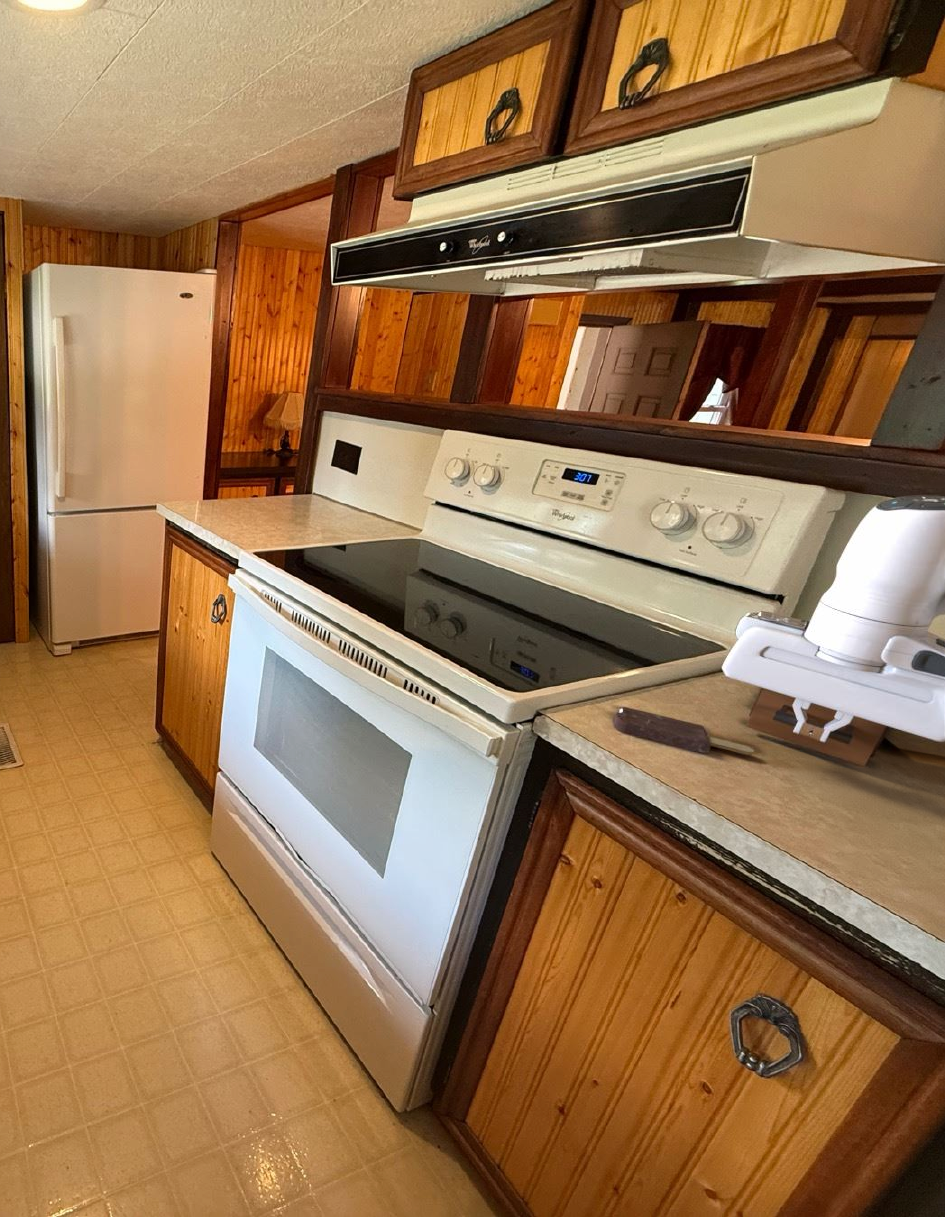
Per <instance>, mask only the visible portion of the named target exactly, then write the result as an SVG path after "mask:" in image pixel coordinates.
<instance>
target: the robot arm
mask: <svg viewBox="0 0 945 1217" xmlns="http://www.w3.org/2000/svg"><path fill="white" fill-rule="evenodd" d="M943 615H945V496H944V495H936V494H934V495H932V494H919V495H915V494H914V495H903V496H895V497H893V498H890V499H887V500H883V501H881V502H879V503H877V504H876V505H875V506H874V507H872V508H871V509H870V510H869V511H868V512H867V514H865V516H864V517H863V518H862V520H861V521H860V522H859V524H858V525H857V527H856V529H855V530H854V531H853V533H852V535H851V537H850V539H849V540H848V542H847V543H846V546H845V548H844V549H843V551H842V553H841V556H840V558H839V559H838V561H837V564H836V571H835V578H834V581H833V583H832V585H831V586H830V587H829V588H828V589H827V591H825V592H824V593H823V594H822V596H821V598H820V599H819V601H818V603H817V606H816V607H815V610H814V612H813V614H812V616H811V618H810V620H804V619H799V618H795V617H791V616H785V615H779V614H776V613H774V612H770V611H766V610H760V611H759V612H750V613H747V614H745V615H743V616H741V617H740V619H739V620H738V622H737V624H736V627H735V629H734V636H735V638H736V639H737V641H736V642H735V644H734V645H733V646H732V648H731V649H730V651H729V653H728V654H727V657H726V658H725V660H724V662H723V664H722V666H721V670H722V671H723V672H722V673H723V674H724V675H725V677H727V678H729V679H733V680H736V681H738V682H739V681H740V682H742V683H744V684H745V683H746V684H749V685H752V686H755V687H758V688H761V687H762V688H765V689H768V690H771V691H775V692H778V693H781V694H784V695H788V696H791V697H794V698H796V699H795V701H794V703H793V705H792V706H793V709H794V712H795V715H796V718H797V720H798V723H797V725H796V727H795V729H794V731H793V732H795V733H797V734H801V735H804V736H807V737H810V738H813V739H815V740H818V741H821V742H824V743H825V741H826V739H827V737H828V736H829V734H830V732H831V731H834V730H837V729H839V728H841V727H843V726H845V725H848V724H850V722H851V720H852V719H853V717H854V716H856V717H860V718H863V719H866V720H869V721H873V722H876V723H879V724H882V725H886V726H889V727H890V728H893V729H896V730H898V731H902V732H905V733H909V734H911V735H916V736H918V737H919V736H920V737H922V738H925V739H928V740H931V741H934V742H939V743H945V638H943V637H941V636H940V635H937V634H935V633H933V632H931V631H929V628H930V627H931V625H932V623H933V622H934V620H935V619H936V618H938V617H939V616H943ZM804 629H805V630H806V631H805V633H804ZM811 703H814V704H817V705H820V706H824V707H827V708H830V709H833V710H837V712H836V714H835V717H834V718H835V719H834V720H832V721H830V722H828V723H826V724H823V723H820V722H817V721H814V720H811V719H808V717H807V714H806V711H805V709H806V710H807V709H808V708H809V706H810V704H811Z"/></svg>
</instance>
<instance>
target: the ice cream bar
mask: <svg viewBox="0 0 945 1217" xmlns="http://www.w3.org/2000/svg"><path fill="white" fill-rule="evenodd" d="M612 725H613V727H614V729H615V730H616V731H618V732H620V733H623V734H627V735H630V736H634V737H638V738H641V739H646V740H650V741H654V742H657V743H661V744H666V745H669V746H673V747H676V748H681V749H685V750H689V751H693V752H696V753H699V754H709V751H710V749H711V747H715V748H718V749H722V750H727V751H731V752H735V753H739V754H742V755H746V756H753V755H754V752H755V750H754V749H753V748H751V747H750V746H747V745H744V744H741V743H737V742H732V741H729V740H724V739H721V738H716V737H713V736H708V733H707V731H706V729H705V727H704V726H703V725H702V724H697V723H693V722H690V721H689V722H688V721H685V720H682V719H681V720H680V719H678V718H677V719H676V718H672V717H668V716H664V715H661V714H660V715H659V714H656V713H652V712H648V711H643V710H639V709H635V708H632V707H628V706H627V707H626V706H621V707H619V709H618V712H615V713H614V715H613V718H612Z"/></svg>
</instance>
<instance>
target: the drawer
mask: <svg viewBox="0 0 945 1217" xmlns="http://www.w3.org/2000/svg"><path fill="white" fill-rule="evenodd" d="M795 699H796V698H794V697H791V696H788V695H784V694H781V693H778V692H775V691H771V690H768V689H765V688H763V691H762V693H761V695H760V697H759V700H758V702H757V704H756V706H755V708H754V711H753V713H752V715H751V716H749V717H750V718H749V719H748V722H747V724H746V727H747V728H749V729H752V730H755V731H758V732H761V733H764V734H767V735H770V736H773V737H776V738H778V739H781V740H784V741H786V742H787V741H788V742H790V743H793V744H795V745H800V746H802V747H805V748H807V749H811V750H814V751H816V752H819V753H823V754H825V755H828V756H831V757H835V758H838V759H841V760H844V761H846V762H849V763H852V764H856V765H858V766H861V767H866V765H867V763H868V761H869V759H870V758H871V757H872V756H871V754H872V752H873V750H874V748H875V747H876V745H877V743H878V741H879V739H880V737H881V736H882V734H883V732H884V730H885V728H886V725H882V724H879V723H876V722H873V721H869V720H866V719H863V718H860V717H856V716H854V717H853V719H852V720H851V722H850V724H848V725H845V726H843V727H841V728H839V729H837V730H834V731H831V732H830V734H829V736H828V737H827V739H826V741H825V743H824V742H821V741H818V740H815V739H813V738H810V737H807V736H804V735H801V734H797V733H795V732H793V731H794V729H795V727H796V725H797V723H798V720H797V718H796V715H795V712H794V709H793V706H792V705H793V703H794V701H795ZM805 711H806V714H807V717H808V719H811V720H814V721H817V722H820V723H823V724H826V723H828V722H830V721H832V720H834V719H835V718H834V717H835V714H836V712H837V710H833V709H830V708H827V707H824V706H820V705H817V704H814V703H811V704H810V706H809V708H808V709H807V710H806V709H805Z"/></svg>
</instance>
